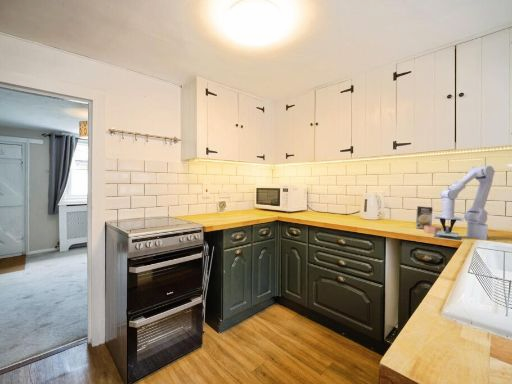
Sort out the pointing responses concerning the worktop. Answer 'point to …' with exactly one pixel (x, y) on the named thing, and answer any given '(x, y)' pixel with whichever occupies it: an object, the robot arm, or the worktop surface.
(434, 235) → the mat
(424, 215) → the coffee box
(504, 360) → the worktop surface
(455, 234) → the lid
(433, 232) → the bowl
